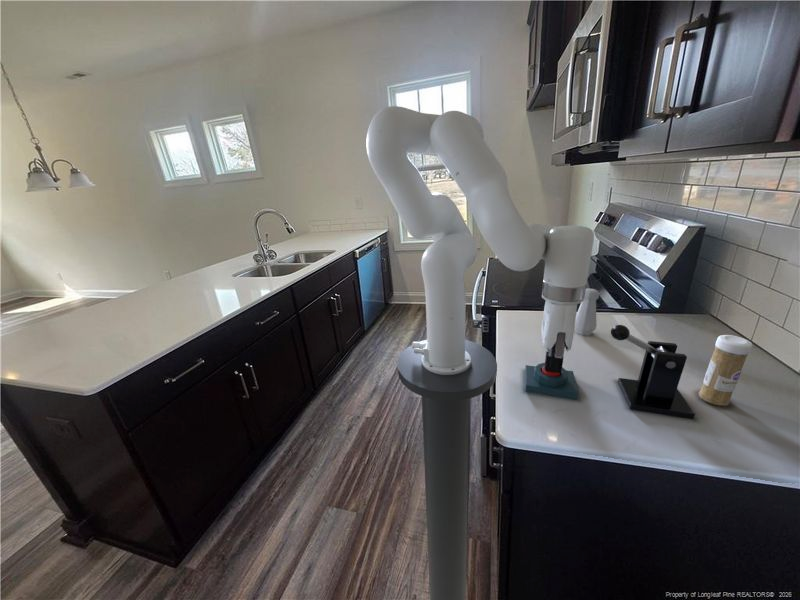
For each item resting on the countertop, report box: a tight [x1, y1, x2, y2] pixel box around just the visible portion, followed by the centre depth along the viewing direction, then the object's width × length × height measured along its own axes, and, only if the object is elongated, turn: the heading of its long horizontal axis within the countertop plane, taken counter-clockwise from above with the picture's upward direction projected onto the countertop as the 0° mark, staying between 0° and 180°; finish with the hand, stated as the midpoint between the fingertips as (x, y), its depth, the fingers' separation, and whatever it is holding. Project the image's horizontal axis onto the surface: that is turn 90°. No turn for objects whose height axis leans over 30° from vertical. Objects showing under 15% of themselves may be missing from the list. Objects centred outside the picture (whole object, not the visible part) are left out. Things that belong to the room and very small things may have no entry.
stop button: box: [542, 366, 560, 377], centre depth 69 cm, size 4×4×2 cm
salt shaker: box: [574, 287, 600, 336], centre depth 88 cm, size 6×6×13 cm
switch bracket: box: [617, 340, 696, 420], centre depth 62 cm, size 10×9×12 cm
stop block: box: [524, 362, 579, 400], centre depth 70 cm, size 10×8×4 cm
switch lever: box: [610, 324, 673, 358], centre depth 61 cm, size 12×3×3 cm, turn 71°
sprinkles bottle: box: [698, 334, 753, 407], centre depth 60 cm, size 5×5×13 cm
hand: (552, 369), depth 69 cm, fingers closed
